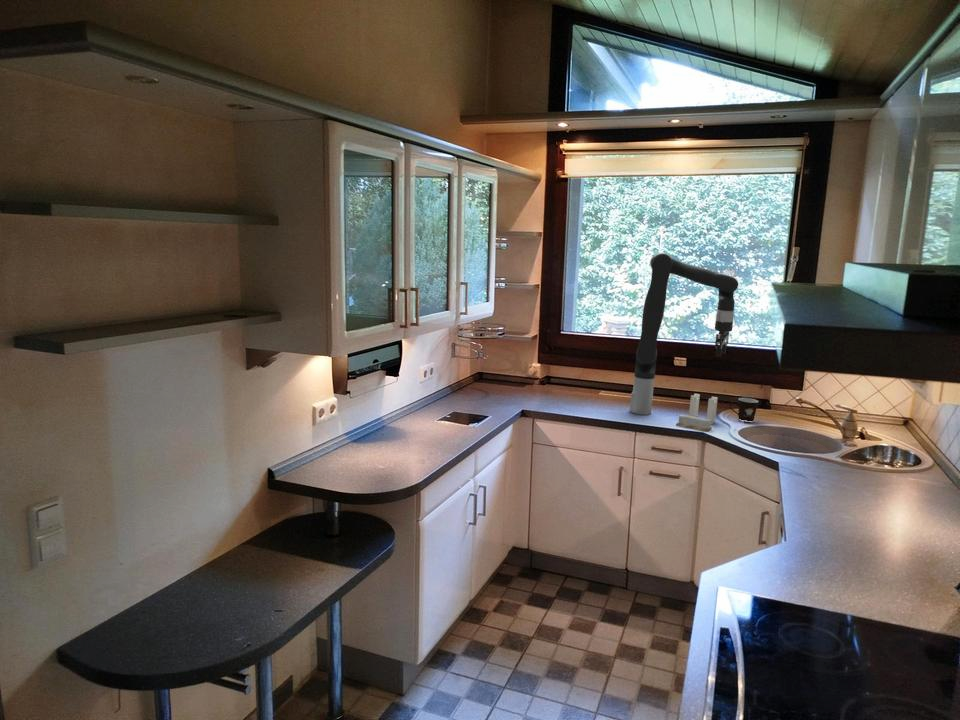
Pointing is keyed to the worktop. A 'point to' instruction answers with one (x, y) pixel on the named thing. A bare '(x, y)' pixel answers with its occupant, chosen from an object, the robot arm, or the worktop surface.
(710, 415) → the post
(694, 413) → the post
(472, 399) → the worktop surface
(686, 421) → the rail
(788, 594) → the worktop surface
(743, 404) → the coffee mug
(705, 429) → the board
